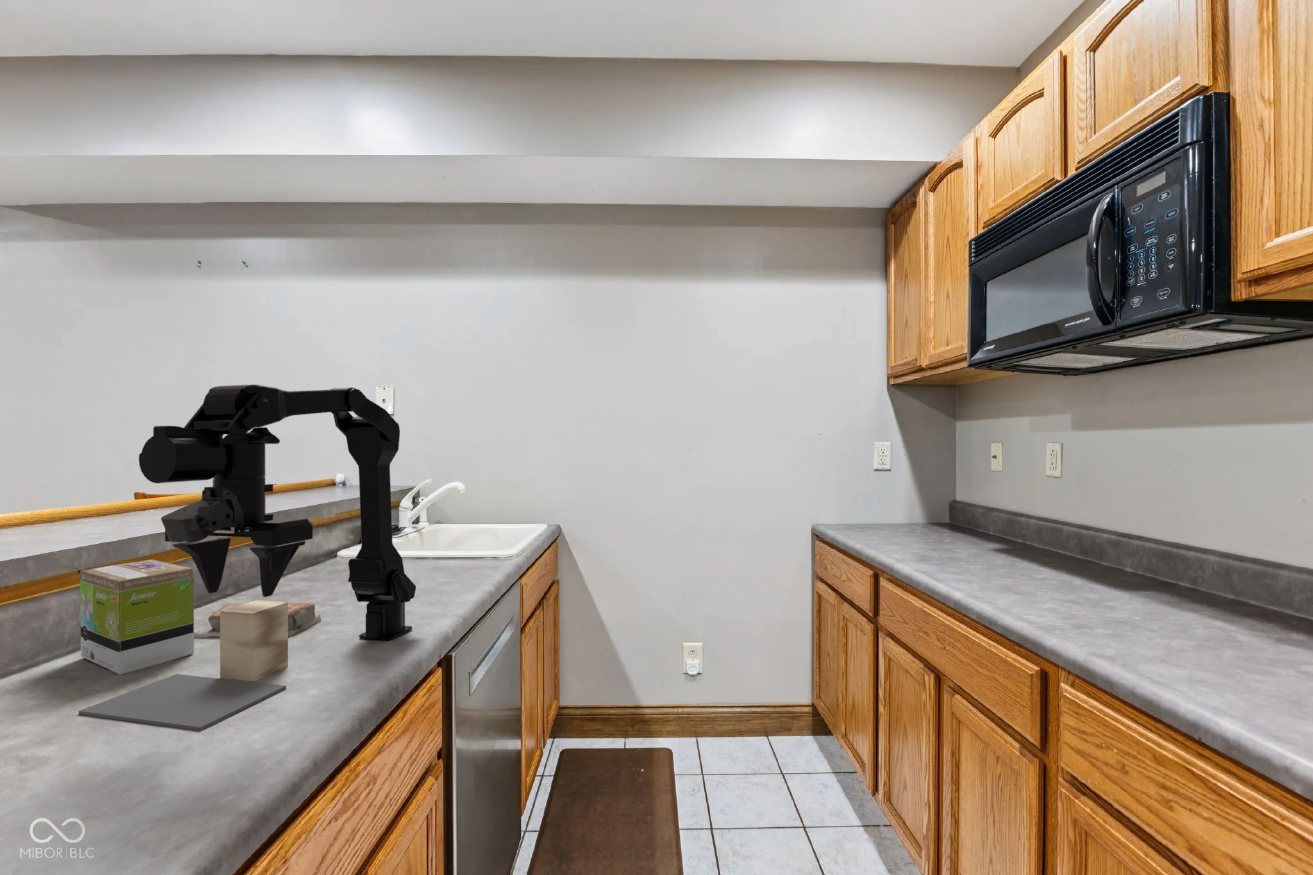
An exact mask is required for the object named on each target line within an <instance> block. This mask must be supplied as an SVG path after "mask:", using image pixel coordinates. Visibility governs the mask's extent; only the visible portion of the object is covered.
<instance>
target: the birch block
mask: <svg viewBox="0 0 1313 875" xmlns="http://www.w3.org/2000/svg"><path fill="white" fill-rule="evenodd" d="M245 603H246V604H242V605H239V606H235V607H232V608H229V609H225V610H222V611H220V637H219V650H220V651H219V652H220V653H219V679H228V680H232V679H234V680H236V679H237V681H241V680H244V681H245V680H246V681H247V682H250V681H253V682H255V681H254V680H256V679H258V680H260V679H262V678H264V677H266V675H267V676H269V675H271V674H273V673H276V672H277V670H278V671H280V670H282V669H285V668H286V667H289V637H288V603H289V602H288V601H275V600H263V599H262V600H261V599H260V600H259V599H257V600H256V599H255V600H253V601H250V602H245ZM284 667H285V668H284ZM279 669H280V670H279ZM268 674H269V675H268ZM263 676H264V677H263ZM259 678H260V679H259ZM256 681H257V680H256Z"/></svg>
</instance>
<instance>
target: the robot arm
mask: <svg viewBox="0 0 1313 875" xmlns="http://www.w3.org/2000/svg"><path fill="white" fill-rule="evenodd" d="M350 412H351V413H352V412H353V413H354V415H356V416H353V415H352V414H351V413H350ZM323 413H325V414H326V413H331V414H332V415H333V420H334V424H335V427H336V428H337V429H338V430H339V431H340V433H341V434H343V435H344V436H345V438H346V445H347V450H348V452H349V454H350V456H351V457H352V458H353V460H354V462H355V463H356V464H357V467H358V479H359V480H358V482H359V483H358V486H359V489H358V490H359V510H360V511H359V514H360V540H361V541H360V542H361V544H360V545H361V546H360V549H359V551H358V552H357V555H356V556H355V557H354V558H349V560H348V564H347V565H348V569H349V573H348V574H349V576H348V578H347V579H348V583H350V584H351V589H352V591H354V594H355V599H356V602H358V603H363V602H364V603H366V613H365V632H363V633H360V634H359V635H358V638H359V639H368V640H369V639H370V640H379V641H381V640H382V641H390V640H394V639H395V638H397V637H399V636H401V635H403V634H405V633H407V632H409V631H411V630H413V626H412V625H406V603H409V602H411V600H412V599H414V598H415V594H416V591H417V585H416V584H415V583H414V582H413V581H412V580H411V579H410V578H409V576H407V574H406V573H405V567H404V560H403V558H402V556H401V554H400V553H399V551H398V550H397V548H396V547H395V545H394V543H393V524H392V523H393V522H392V520H393V518H392V496H391V495H392V492H391V463H392V461H393V460H394V458H395V456H396V455H397V453H398V452H399V449H400V448H399V446H400V436H401V430H400V425H399V422H397V421H396V420H395V419H394V418H393V417H392V416H391V414H390V413H389V412H388V411H387V410H386V408H383V407H382V406H380V405H379V404H377V403H376V402H374V401H372V400H371V399H369V398H367V396H366V395H365V394H364V393H363V392H362V391H361V390H360V389H358V388H356V387H349V386H348V387H333V388H330V389H316V390H313V389H311V390H293V391H292V390H291V391H289V390H283V389H281V388H278V387H273V386H266V385H260V384H241V385H240V384H237V385H235V384H234V385H219V386H218V385H217V386H213V387H212V388H209V390H208V392H207V393H206V395H205V396H204V399H203V403H202V405H200V407H199V408H198V409H197V410H196V412H194V414H193V416H191V418H190V419H189V420H188V422H187V423H186V425H185V426H183V427H182V426H178V425H155V426H154V427H153V429H152V430H153V431H152V432H153V433H152V436H151V437H149V438H148V439H147V440H146V442H145V443H144V445H143V447H142V450H141V452H140V453H139V454H138V463H139V464H138V465H139V468H140V472H141V473H142V475H143V477H145V478H146V480H148V482H151V483H153V484H166V483H167V484H168V483H183V482H185V483H186V482H197V481H198V482H199V481H209V480H211V479H212V486H204V488H203V490H202V491H201V500H199V501H196V502H193V503H189V504H187V505H185V506H183V507H180V508H177V509H176V510H174V511H171V512H170V513H167V514H165V515H163V516H162V517H161V518H160V520H161V522H162V525H163V527H164V542H167V543H169V542H170V543H173V544H172V546H173V547H174V548H175V549H180V550H181V551H182V552H185V553H186V554H187V555H189V556H190V557H191V558H192V560H193V562H194V564H195V565H196V569H197V570H198V572H199V574H200V575H199V576H200V578H201V581H202V582H203V584H204V587H205V589H206V591H207V593H208V594H214V593H217V592H219V589H220V586H221V583H222V580H223V576H224V571H225V566H226V561H227V558H228V553H229V548H230V544H231V541H232V540H231V539H232V538H231V537H234V538H235V537H236V538H250V540H251V541H252V543H253V544H254V545H255V546H253V547H249V550H250V551H251V552H252V553H253V554H254V555H255V556H256V557H257V558H258V560H259V576H260V577H259V578H260V588H261V592H262V597H264V598H268V597H271V596H272V595H273V594H274V592H275V590H276V588H277V587H278V584H279V583H280V580H281V579H282V576H283V575H284V573H285V571H286V570H287V567H288V566H289V564H290V562H291V560H292V559H293V558H294V556H295V555H296V553H297V551H299V548H300V547H302V546H305V545H306V541H309V540H312V539H313V537H314V535H313V532H314V531H313V530H314V526H313V523H312V522H311V521H310V520H309V519H308V518H295V517H294V518H293V517H285V518H279V519H278V518H277V519H274V513H266V493H271V492H273V493H274V484H271V483H269V484H268V483H266V445H278V444H280V442H281V440H280V438H279V437H277V436H276V435H275V434H274V433H272V432H271V431H270V430H269V429H268V427H265V426H269V425H272V424H275V423H278V422H281V421H282V420H284V419H286V418H289V417H292V416H301V415H302V416H303V415H315V414H323ZM224 435H225V436H224ZM232 528H233V529H232Z"/></svg>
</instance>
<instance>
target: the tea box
mask: <svg viewBox="0 0 1313 875" xmlns="http://www.w3.org/2000/svg"><path fill="white" fill-rule="evenodd" d="M194 584H195V581H194V568H193V567H188V566H184V565H179V564H174V563H170V562H166V561H160V560H156V559H152V558H151V559H146V560H140V561H139V560H138V561H132V562H127V563H126V562H125V563H121V564H120V563H119V564H114V565H113V564H112V565H108V566H102V567H97V568H96V567H95V568H90V569H83V570H82V569H81V570H80V571H79V595H80V596H79V597H80V598H79V611H80V612H79V613H80V621H79V622H80V656H81V657H82V659H86V660H89V661H91V662H93V663H94V664H97V665H99V666H101V667H102V668H106V669H108V670H109V671H111V672H114V673H115V674H117V675H119V676H121V675H124V674H127V673H128V674H129V673H132V672H136V671H138V670H143V669H146V668H150V667H153V666H157V665H160V664H164V663H166V662H171V661H173V660H174V661H175V660H177V659H181V658H184V657H188V656H190V655H192V654H194V653H195V638H194V633H195V625H194V624H195V616H194V615H195V611H194V607H195V605H194V604H195V603H194V602H195V601H194V600H195V599H194V597H195V596H194V589H195V588H194Z"/></svg>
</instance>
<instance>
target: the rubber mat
mask: <svg viewBox="0 0 1313 875" xmlns="http://www.w3.org/2000/svg"><path fill="white" fill-rule="evenodd" d="M286 689H287V685H283V684H282V685H281V684H273V683H263V682H256V681H253V682H250V681H241V680H232V679H223V678H220V677H219V678H218V677H210V676H209V677H208V676H198V675H191V674H190V675H189V674H181V673H176V674H173V675H170V676H168V677H165V678H162V679H159V680H157V681H154V682H152V683H148V684H145V685H143V686H141V687H138V688H135V689H133V690H130V691H128V692H125V693H122V694H119V695H117V696H114V697H112V698H109V699H107V700H104V701H102V702H99V703H96V704H94V705H90V706H88V707H86V708H82V709H80V710H78V715H84V716H89V717H98V718H106V719H112V720H113V719H114V720H119V721H127V722H135V723H142V724H150V725H157V726H164V727H171V728H172V727H173V728H179V729H187V730H194V731H203V730H204V729H206V728H208V727H211V726H213V725H215V724H217V723H219V722H221V721H223V720H225V719H227V718H230V717H231V716H233V715H236V714H237V713H239V712H241V711H243V710H245V709H247V708H249V707H252V706H254V705H255V704H257V703H260V702H262V701H264V700H266V699H268V698H270V697H272V696H274V695H276V694H279V693H280V692H282V691H284V690H286Z"/></svg>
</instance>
